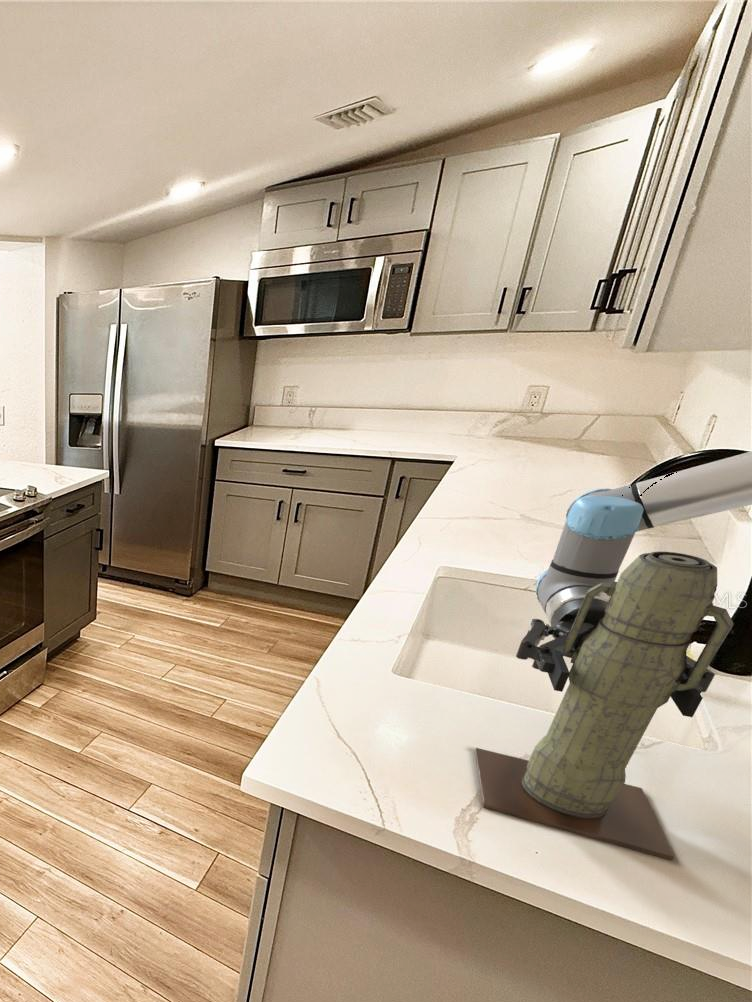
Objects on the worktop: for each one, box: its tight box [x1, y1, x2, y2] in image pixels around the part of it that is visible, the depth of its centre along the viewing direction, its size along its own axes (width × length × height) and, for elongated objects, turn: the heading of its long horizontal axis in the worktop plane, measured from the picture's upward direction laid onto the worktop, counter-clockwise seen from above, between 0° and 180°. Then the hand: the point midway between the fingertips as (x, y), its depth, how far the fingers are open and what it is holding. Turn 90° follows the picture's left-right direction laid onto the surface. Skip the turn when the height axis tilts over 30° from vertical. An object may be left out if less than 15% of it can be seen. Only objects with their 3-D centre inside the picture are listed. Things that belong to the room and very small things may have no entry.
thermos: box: [521, 550, 734, 818], centre depth 77 cm, size 9×12×35 cm
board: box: [474, 747, 675, 861], centre depth 84 cm, size 18×14×1 cm
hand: (624, 693), depth 73 cm, fingers closed on thermos, 10 cm apart
